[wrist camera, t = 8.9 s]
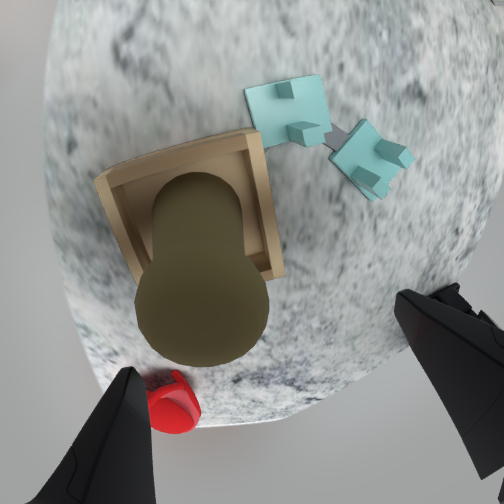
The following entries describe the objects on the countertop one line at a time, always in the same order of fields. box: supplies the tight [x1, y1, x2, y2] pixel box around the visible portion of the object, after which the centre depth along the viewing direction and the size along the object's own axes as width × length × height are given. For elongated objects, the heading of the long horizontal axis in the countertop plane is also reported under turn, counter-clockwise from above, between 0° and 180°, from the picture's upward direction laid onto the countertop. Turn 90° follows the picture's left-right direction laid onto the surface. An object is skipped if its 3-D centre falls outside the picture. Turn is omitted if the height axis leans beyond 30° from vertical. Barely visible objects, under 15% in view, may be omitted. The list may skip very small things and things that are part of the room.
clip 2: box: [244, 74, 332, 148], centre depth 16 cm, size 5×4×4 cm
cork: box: [134, 172, 269, 367], centre depth 14 cm, size 6×6×11 cm
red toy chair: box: [147, 370, 201, 434], centre depth 25 cm, size 8×6×6 cm
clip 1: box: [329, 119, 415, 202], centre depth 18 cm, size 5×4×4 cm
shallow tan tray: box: [93, 127, 285, 286], centre depth 18 cm, size 10×10×3 cm
